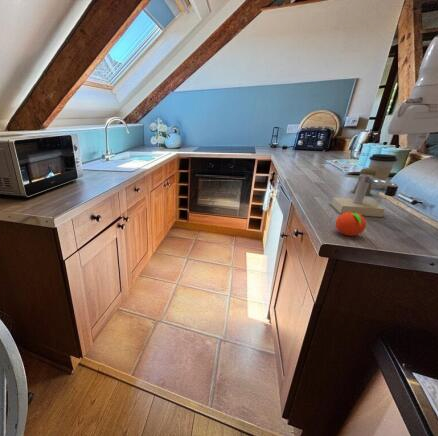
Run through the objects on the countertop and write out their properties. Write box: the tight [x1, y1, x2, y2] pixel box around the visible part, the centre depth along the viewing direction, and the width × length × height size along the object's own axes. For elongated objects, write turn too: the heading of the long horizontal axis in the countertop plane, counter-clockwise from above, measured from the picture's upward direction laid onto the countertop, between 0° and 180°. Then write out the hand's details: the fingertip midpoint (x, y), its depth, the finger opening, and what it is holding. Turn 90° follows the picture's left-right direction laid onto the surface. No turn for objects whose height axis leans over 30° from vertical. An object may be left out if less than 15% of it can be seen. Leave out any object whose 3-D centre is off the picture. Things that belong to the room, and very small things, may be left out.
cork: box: [352, 167, 376, 196], centre depth 106 cm, size 6×6×11 cm
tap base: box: [330, 181, 386, 218], centre depth 87 cm, size 12×10×11 cm
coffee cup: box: [368, 153, 398, 190], centre depth 113 cm, size 9×9×15 cm
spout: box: [357, 173, 399, 197], centre depth 80 cm, size 14×4×4 cm, turn 177°
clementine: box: [335, 212, 367, 237], centre depth 70 cm, size 8×7×7 cm
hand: (412, 149), depth 72 cm, fingers closed
